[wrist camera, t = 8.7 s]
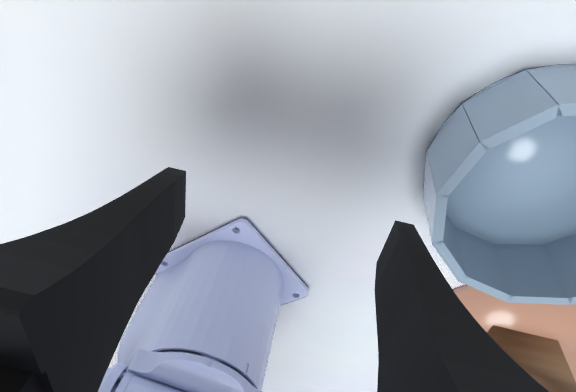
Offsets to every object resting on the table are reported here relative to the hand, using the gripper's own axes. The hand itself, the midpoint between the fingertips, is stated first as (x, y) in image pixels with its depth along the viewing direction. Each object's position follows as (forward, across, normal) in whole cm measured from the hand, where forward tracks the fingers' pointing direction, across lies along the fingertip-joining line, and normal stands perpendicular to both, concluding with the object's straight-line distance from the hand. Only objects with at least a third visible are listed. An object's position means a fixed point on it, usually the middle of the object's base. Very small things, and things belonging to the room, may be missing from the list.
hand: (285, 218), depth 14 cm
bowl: (+10, -12, +1) cm, 15 cm away
